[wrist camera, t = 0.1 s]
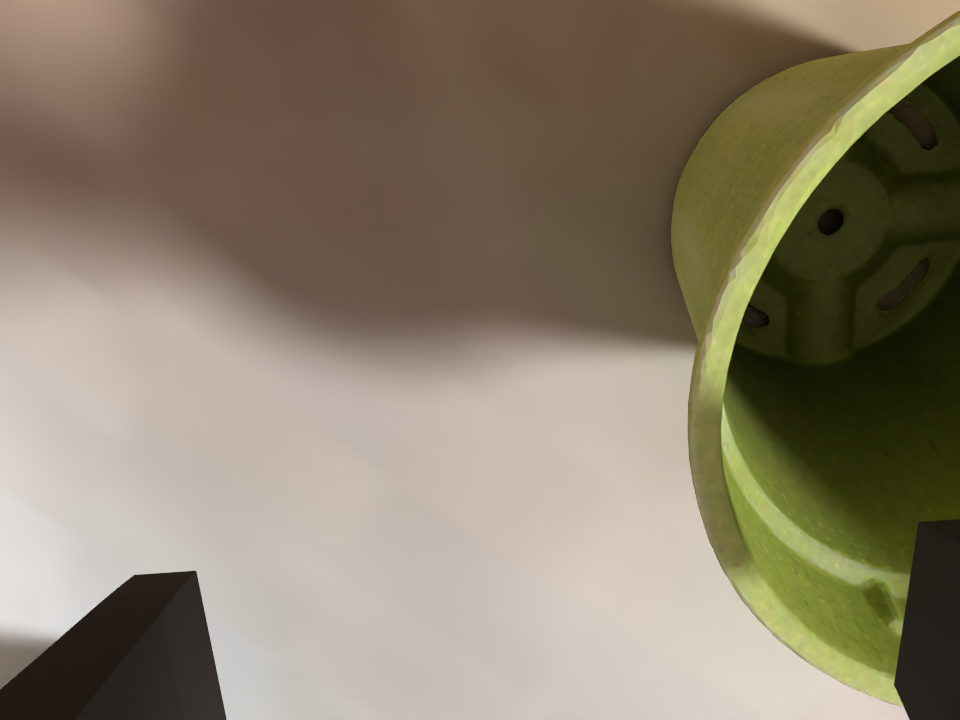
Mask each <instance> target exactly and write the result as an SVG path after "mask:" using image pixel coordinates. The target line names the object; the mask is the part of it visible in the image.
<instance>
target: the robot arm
mask: <svg viewBox="0 0 960 720" xmlns="http://www.w3.org/2000/svg"><path fill="white" fill-rule="evenodd" d="M894 686H895V688H896V690H897V693H898V695H899V697H900V699H901V701H902V704H903V706H904V708H905V710H906V712H907V715H908V717H909V719H910V720H960V519H954V520H940V521H925V522H918V528H917V535H916V541H915V548H914V555H913V561H912V568H911V574H910V581H909V588H908V594H907V601H906V608H905V614H904V621H903V628H902V634H901V641H900V648H899V654H898V661H897V668H896V674H895V681H894ZM0 720H226V715H225V710H224V705H223V700H222V695H221V691H220V686H219V681H218V676H217V671H216V666H215V661H214V656H213V651H212V646H211V641H210V637H209V632H208V627H207V622H206V617H205V612H204V607H203V602H202V597H201V592H200V588H199V583H198V578H197V573H196V571H187V572H172V573H158V574H143V575H134V576H133V577H131V578H130V579H129V580H127V581H126V582H125V583H124V584H122V585H121V586H120V587H119V588H117V589H116V590H115V591H114V592H112V593H111V594H110V595H109V596H108V597H107V598H105V599H104V600H103V601H102V602H101V603H100V604H98V605H97V606H96V607H95V608H94V609H93V610H91V611H90V612H89V613H88V614H87V615H86V616H85V617H83V618H82V619H81V620H80V621H79V622H78V623H77V624H75V625H74V626H73V627H72V628H71V629H70V630H69V631H67V632H66V633H65V634H64V635H63V636H62V637H61V638H59V639H58V640H57V641H56V642H55V643H54V644H53V645H51V646H50V647H49V648H48V649H47V650H46V651H45V652H43V653H42V654H41V655H40V656H39V657H38V658H37V659H35V660H34V661H33V662H32V663H31V664H30V665H28V666H27V667H26V668H25V669H24V670H23V671H21V672H20V673H19V674H18V675H17V676H16V677H14V678H13V679H12V680H11V681H10V682H9V683H7V684H6V685H5V686H4V687H3V688H2V689H1V690H0Z"/></svg>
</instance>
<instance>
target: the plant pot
mask: <svg viewBox="0 0 960 720" xmlns="http://www.w3.org/2000/svg"><path fill="white" fill-rule="evenodd" d="M899 101H900V102H902V103H904V104H906V105H908V106H910V107H912V108H914V109H916V110H917V111H919V112H920V113H921V114H923V115H924V116H925V117H926V119H927V120H928V121H929V122H930V124H931V125H932V127H933V128H934V131H935V136H936V141H937V144H936V146H934V147H933V148H932V149H931V150H926V149H923V148H922V147H921V146H920V144H919V142H918V140H917V139H916V138H915V137H914V136H913V135H912V134H911V132H910V131H909V130H908V129H907V127H906V126H904V125H903V124H902V123H901V121H899V120H897V119H896V118H895V117H894V115H895V114H894V113H891V112H889V111H888V110H889V109H890V108H892V107H893V106H894V105H895V104H897V103H898V102H899ZM829 209H838V210H839V211H841V212H842V214H843V224H842V226H841V227H840V228H839V229H838V230H837V231H836V232H834V233H832V234H830V235H825V234H823V233H821V232H820V230H819V227H818V220H819V218H820V217H821V216H822V215H823V214H824V213H825V211H827V210H829ZM671 248H672V257H673V264H674V270H675V273H676V276H677V279H678V282H679V285H680V288H681V291H682V295H683V298H684V301H685V304H686V307H687V310H688V313H689V316H690V319H691V321H692V324H693V327H694V330H695V333H696V337H697V340H698V346H697V350H696V353H695V359H694V365H693V370H692V377H691V385H690V393H689V401H688V445H689V461H690V467H691V473H692V479H693V485H694V489H695V494H696V498H697V502H698V506H699V510H700V513H701V517H702V520H703V523H704V526H705V530H706V533H707V536H708V539H709V542H710V544H711V546H712V548H713V549H714V552H715V555H716V557H717V559H718V561H719V563H720V565H721V567H722V569H723V571H724V573H725V574H726V576H727V577H728V579H729V580H730V582H731V584H732V586H733V587H734V589H735V591H736V592H737V594H738V595H739V597H740V598H741V600H742V601H743V602H744V603H745V605H746V606H747V607H748V608H749V609H750V611H751V612H752V613H753V614H754V615H755V616H756V618H757V619H758V620H759V621H760V622H761V623H762V624H763V625H764V626H765V627H766V628H767V629H768V630H769V631H770V632H771V633H772V634H773V635H774V636H775V637H776V638H777V639H778V640H779V641H780V642H781V643H783V644H784V645H785V646H787V647H788V648H789V649H791V650H792V651H793V652H794V653H796V654H797V655H798V656H799V657H801V658H802V659H803V660H805V661H806V662H808V663H810V664H811V665H813V666H814V667H816V668H817V669H819V670H820V671H822V672H824V673H826V674H827V675H829V676H831V677H833V678H834V679H836V680H838V681H839V682H841V683H843V684H845V685H847V686H849V687H851V688H853V689H855V690H857V691H860V692H862V693H865V694H867V695H869V696H872V697H874V698H877V699H879V700H882V701H885V702H887V703H890V704H893V705H897V706H901V707H904V706H903V704H902V701H901V699H900V697H899V695H898V693H897V690H896V688H895V686H894V681H895V674H896V668H897V661H898V654H899V648H900V641H901V634H902V628H903V621H904V614H905V608H906V601H907V594H908V588H909V581H910V574H911V568H912V561H913V555H914V548H915V541H916V535H917V528H918V522H925V521H940V520H954V519H960V11H958V12H956V13H954V14H953V15H951V16H950V17H949V18H947V19H946V20H944V21H943V22H941V23H940V24H938V25H937V26H935V27H934V28H932V29H931V30H929V31H928V32H926V33H925V34H923V35H922V36H921V37H919V38H918V39H916V40H915V41H913V42H912V43H910V44H905V45H899V46H893V47H887V48H881V49H875V50H869V51H862V52H855V53H849V54H843V55H838V56H832V57H827V58H822V59H817V60H813V61H809V62H806V63H802V64H799V65H796V66H792V67H790V68H788V69H786V70H783V71H781V72H779V73H777V74H775V75H773V76H771V77H769V78H767V79H765V80H763V81H761V82H760V83H758V84H757V85H755V86H754V87H753V88H751V89H750V90H748V91H747V92H745V93H744V94H743V95H741V96H740V97H738V98H737V99H736V100H735V101H734V102H732V103H731V104H730V105H729V106H728V107H727V108H726V109H725V110H724V111H723V112H722V113H721V114H720V115H719V116H718V117H717V118H716V119H715V121H714V122H713V123H712V124H711V126H710V127H709V128H708V129H707V131H706V132H705V133H704V135H703V136H702V137H701V139H700V141H699V142H698V144H697V146H696V147H695V149H694V151H693V153H692V154H691V156H690V158H689V159H688V161H687V163H686V165H685V168H684V170H683V172H682V175H681V177H680V180H679V183H678V186H677V189H676V193H675V198H674V203H673V212H672V223H671ZM923 258H928V260H929V262H928V265H929V270H928V271H927V273H926V274H925V276H924V277H923V279H922V280H921V281H920V282H919V283H918V285H917V286H916V287H915V288H914V289H913V290H912V291H911V292H910V293H909V294H908V295H907V297H905V298H904V299H903V300H902V301H901V302H900V303H899V304H898V305H896V306H895V307H894V308H892V309H887V310H883V311H882V310H880V309H879V308H877V304H878V302H879V301H880V300H881V299H882V298H883V297H884V296H885V295H886V294H888V293H889V292H891V291H892V290H893V289H894V288H896V287H898V286H899V285H902V283H903V282H904V281H905V280H906V279H907V277H908V276H909V275H910V274H912V273H913V270H914V269H915V268H916V267H917V266H918V264H919V263H920V262H921V260H922V259H923ZM748 304H749V305H750V306H752V307H753V308H755V309H756V310H759V311H761V312H763V313H764V314H766V315H767V316H768V319H769V323H768V324H767V325H766V326H765V327H764V326H761V327H755V326H749V325H746V324H745V323H743V322H742V318H743V315H744V312H745V310H746V308H747V305H748Z"/></svg>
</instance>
